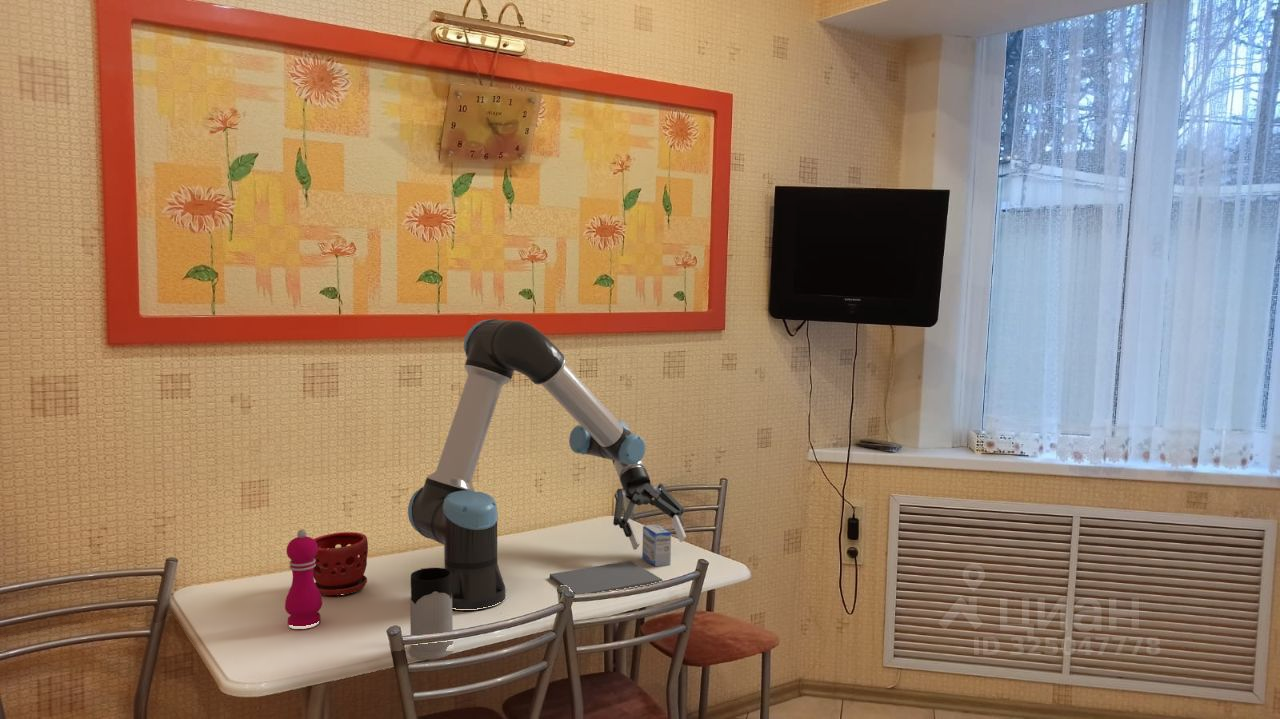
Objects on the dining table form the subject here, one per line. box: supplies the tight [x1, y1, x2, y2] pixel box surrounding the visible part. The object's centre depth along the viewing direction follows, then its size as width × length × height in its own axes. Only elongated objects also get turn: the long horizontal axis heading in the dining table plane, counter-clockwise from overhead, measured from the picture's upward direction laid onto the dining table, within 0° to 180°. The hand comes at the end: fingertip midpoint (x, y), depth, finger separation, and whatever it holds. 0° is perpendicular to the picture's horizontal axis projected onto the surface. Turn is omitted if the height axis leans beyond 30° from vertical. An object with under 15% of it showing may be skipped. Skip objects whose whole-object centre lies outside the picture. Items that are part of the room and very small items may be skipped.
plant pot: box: [313, 531, 369, 596], centre depth 201 cm, size 13×13×12 cm
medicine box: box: [641, 524, 672, 568], centre depth 223 cm, size 8×4×9 cm, turn 25°
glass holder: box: [408, 567, 455, 660], centre depth 171 cm, size 9×14×15 cm, turn 24°
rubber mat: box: [549, 560, 663, 594], centre depth 209 cm, size 22×16×1 cm
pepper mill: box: [284, 529, 323, 626], centre depth 180 cm, size 7×7×20 cm
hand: (660, 543), depth 222 cm, fingers open, 13 cm apart
